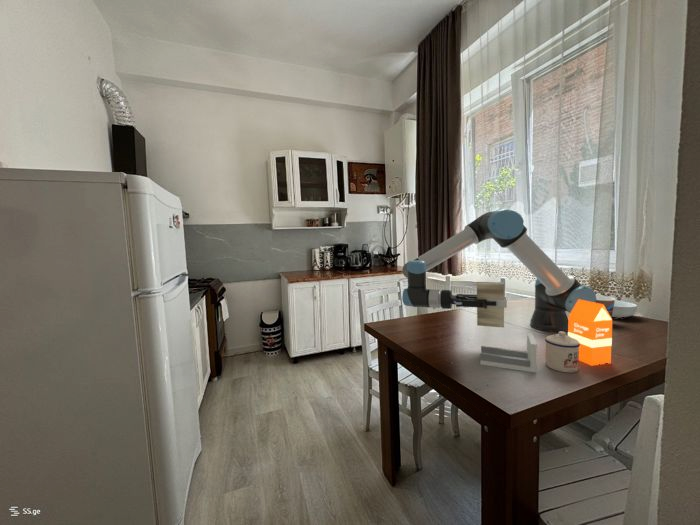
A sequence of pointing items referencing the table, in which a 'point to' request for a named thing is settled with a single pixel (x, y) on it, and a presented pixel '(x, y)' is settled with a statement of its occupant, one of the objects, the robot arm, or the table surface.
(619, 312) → the cereal bowl
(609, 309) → the coffee cup
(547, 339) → the teacup with lid
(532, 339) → the track
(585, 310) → the orange juice
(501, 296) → the tall wooden block
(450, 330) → the table surface
